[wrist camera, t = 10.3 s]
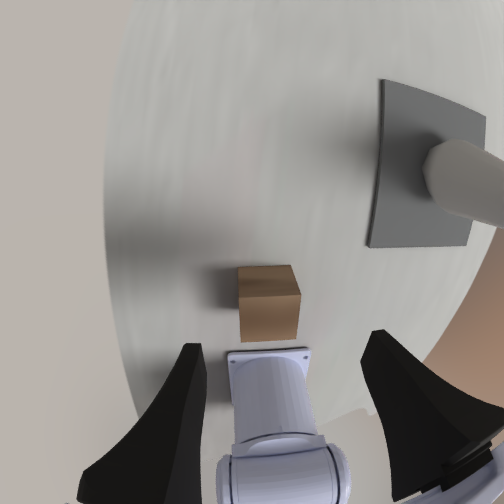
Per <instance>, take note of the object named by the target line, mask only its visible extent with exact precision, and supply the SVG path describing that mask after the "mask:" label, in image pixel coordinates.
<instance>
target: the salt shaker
mask: <svg viewBox="0 0 504 504" xmlns="http://www.w3.org/2000/svg"><path fill="white" fill-rule="evenodd" d="M422 171H423V175H424V179H425V183H426V187H427V189H428V191H429V193H430V194H431V196H432V198H433V200H434V201H435V203H436V204H437V205H438V206H439V207H441V208H442V209H443V210H445V211H446V212H448V213H450V214H453V215H457V216H461V217H465V218H468V219H472V220H476V221H479V222H483V223H486V224H489V225H493V226H496V227H499V228H502V229H504V161H502V160H501V159H499V158H497V157H496V156H494V155H492V154H490V153H488V152H487V151H485V150H483V149H481V148H479V147H477V146H475V145H473V144H471V143H469V142H467V141H464V140H459V139H450V140H448V141H446V142H444V143H442V144H440V145H437V146H435V147H433V148H430V150H429V152H428V154H427V157H426V159H425V161H424V164H423V166H422Z"/></svg>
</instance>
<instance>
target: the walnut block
mask: <svg viewBox="0 0 504 504" xmlns="http://www.w3.org/2000/svg"><path fill="white" fill-rule="evenodd" d="M238 292H239V316H240V336H241V342H260V341H277V340H291V339H296V335H297V328H298V319H299V311H300V302H301V293H300V290H299V287H298V284H297V281H296V278H295V276H294V273H293V270H292V267H291V265H280V266H254V267H238Z"/></svg>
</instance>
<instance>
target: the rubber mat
mask: <svg viewBox="0 0 504 504" xmlns="http://www.w3.org/2000/svg"><path fill="white" fill-rule="evenodd" d="M485 130H486V116H484V115H482V114H480V113H477V112H475V111H473V110H471V109H469V108H467V107H464V106H462V105H460V104H457V103H455V102H453V101H450V100H448V99H445V98H442V97H440V96H437V95H434V94H432V93H429V92H426V91H423V90H420V89H417V88H414V87H411V86H407V85H404V84H401V83H397V82H393V81H390V80H386V79H384V80H382V124H381V142H380V156H379V167H378V177H377V186H376V194H375V202H374V209H373V216H372V222H371V229H370V234H369V240H368V247H369V248H401V247H443V246H466V245H467V241H468V237H469V234H470V230H471V226H472V222H473V220H472V219H468V218H465V217H461V216H457V215H453V214H450V213H448V212H446V211H445V210H443V209H442V208H441V207H439V206H438V205H437V204H436V203H435V201H434V200H433V198H432V196H431V194H430V193H429V191H428V189H427V187H426V183H425V179H424V175H423V171H422V166H423V164H424V161H425V159H426V157H427V154H428V152H429V150H430V148H433V147H435V146H437V145H440V144H442V143H444V142H446V141H448V140H450V139H459V140H464V141H467V142H469V143H471V144H473V145H475V146H477V147H479V148H481V149H483V150H484V146H485Z"/></svg>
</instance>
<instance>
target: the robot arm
mask: <svg viewBox="0 0 504 504" xmlns="http://www.w3.org/2000/svg"><path fill="white" fill-rule="evenodd" d="M310 357H311V350H310V349H309V348H302V349H290V350H276V351H258V352H232V353H229V354H228V356H227V359H228V370H229V380H230V389H231V399H232V405H233V406H234V432H235V444H233V445H232V455H231V454H230V455H224V456H223V458H222V459H221V460H219V462H218V464H217V469H216V494H217V502H218V504H347V503H348V497H349V495H350V492H351V476H350V470H349V465H348V461H347V459H346V457H345V454H344V453H343V451H342V450H341V449H340V448H339V447H337V446H336V445H334V444H333V443H329V444H326V441H325V437H324V435H318V432H317V427H316V423H315V419H314V415H313V410H312V406H311V402H310V398H309V394H308V390H307V385H306V381H305V379H306V375H307V371H308V366H309V362H310ZM232 360H234V361H232ZM360 363H361V367H362V371H363V374H364V378H365V382H366V384H367V387H368V389H369V392H370V394H371V397H372V399H373V402H374V404H375V407H376V409H377V412H378V414H379V417H380V419H381V423H382V426H383V429H384V434H385V438H386V442H387V448H388V453H389V459H390V468H391V482H392V498H393V501H394V502H396V501H399V500H401V499H404V498H406V497H408V496H411V495H413V494H415V493H417V492H419V491H421V493H422V494H421V495H419V496H417V497H415V498H413V499H411V500H408V501H406V502H404V503H401V504H491V503H492V502H493V501H494V500H495V499H496V498H497V497H498V496H499V495H500V494H501V493H502V492H503V491H504V442H502V443H501V444H500V445H499V446H497V447H496V448H495V449H494V450H492V451H490V449H489V448H490V447H491V446H492V443H491V441H490V440H491V439H492V438H494V437H495V436H496V435H497V434H498V433H499V432H501V431H502V430H503V429H504V408H502V407H499V406H495V405H492V404H489V403H486V402H483V401H481V400H479V399H476V398H474V397H472V396H470V395H468V394H466V393H464V392H463V391H461V390H459V389H457V388H456V387H454V386H452V385H450V384H449V383H448V382H446V381H444V380H443V379H442V378H440V377H439V376H437V375H436V374H435V373H434V372H432V371H431V370H429V368H427V367H426V366H425V365H424V364H423V363H421V362H420V361H419V360H418V359H417V358H416V357H414V356H413V355H412V354H411V353H410V352H409V351H408V350H407V349H405V348H404V347H403V346H402V345H401V344H400V343H399V342H398V341H397V340H396V339H394V338H393V337H392V336H391V335H390V334H389V333H388V332H386V331H385V330H384V329H382V330H376V331H372V333H371V335H370V338H369V341H368V343H367V346H366V348H365V351H364V353H363V356H362V358H361V361H360ZM206 389H207V372H206V367H205V362H204V357H203V352H202V346H201V343H186V344H184V345H183V348H182V350H181V352H180V355H179V357H178V359H177V361H176V363H175V365H174V367H173V369H172V371H171V372H170V374H169V376H168V378H167V379H166V381H165V383H164V385H163V386H162V388H161V390H160V391H159V393H158V394H157V396H156V397H155V399H154V400H153V402H152V403H151V405H150V406H149V407H148V409H147V410H146V412H145V413H144V414H143V415H142V417H141V418H140V419H139V420H138V422H137V423H136V424H135V425H134V426H133V428H132V429H131V430H130V431H129V432H128V433H127V434H126V435H125V436H124V438H122V439H121V440H120V441H119V442H118V443H117V444H116V445H115V446H114V447H113V448H112V449H111V450H110V451H109V452H108V453H106V454H105V455H104V456H103V457H102V458H101V459H99V460H98V461H96V462H95V463H94V464H92V465H91V466H90V467H88V468H87V469H86V470H84V471H83V474H82V477H81V479H80V483H79V488H78V493H77V501H78V502H80V503H83V504H202V497H201V474H200V445H201V435H202V426H203V418H204V411H205V403H206ZM65 504H68V503H65Z"/></svg>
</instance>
